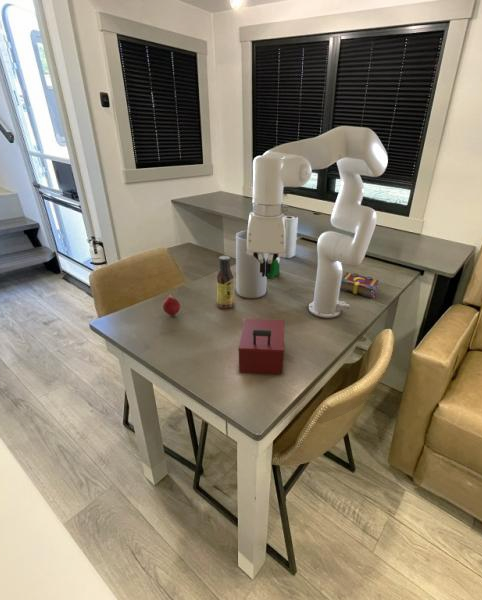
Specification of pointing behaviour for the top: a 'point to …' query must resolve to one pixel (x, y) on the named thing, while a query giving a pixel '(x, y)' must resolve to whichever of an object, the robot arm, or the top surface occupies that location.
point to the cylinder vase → (248, 270)
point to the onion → (171, 306)
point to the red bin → (260, 362)
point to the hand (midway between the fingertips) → (265, 274)
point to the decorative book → (359, 284)
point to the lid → (262, 335)
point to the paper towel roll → (290, 236)
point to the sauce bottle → (225, 284)
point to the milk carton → (274, 267)
